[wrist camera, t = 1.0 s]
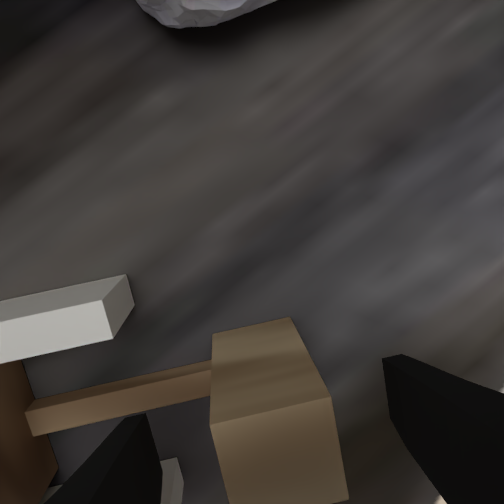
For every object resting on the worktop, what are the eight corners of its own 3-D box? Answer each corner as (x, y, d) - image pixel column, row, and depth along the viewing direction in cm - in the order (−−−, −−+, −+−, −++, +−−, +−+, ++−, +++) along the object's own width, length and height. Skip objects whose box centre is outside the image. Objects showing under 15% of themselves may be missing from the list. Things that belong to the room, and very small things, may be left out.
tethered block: (307, 408, 16) (354, 531, 10) (-72, 498, 15) (-235, 679, 10) (285, 291, 15) (324, 359, 9) (-123, 382, 14) (-338, 511, 9)
